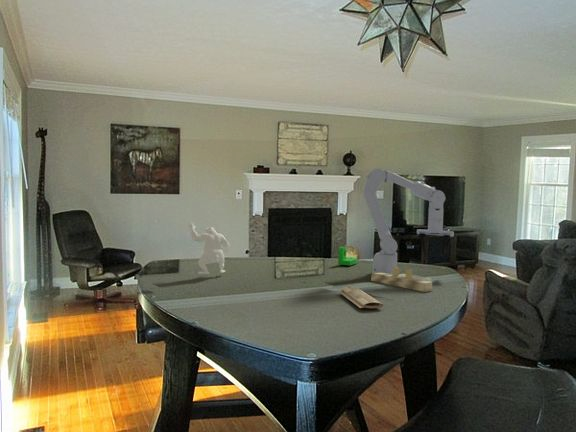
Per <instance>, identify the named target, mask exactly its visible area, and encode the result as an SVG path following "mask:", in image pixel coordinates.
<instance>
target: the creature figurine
mask: <svg viewBox="0 0 576 432" xmlns="http://www.w3.org/2000/svg"><path fill="white" fill-rule="evenodd" d="M188 226H189V229H190V236H191V238H192V240H193V241H194V242H195V241H196V242H199V243H200V242H205V243H204V246H203V253H202V255H201V256H200V258H199V259H198V262H197V264H198V266H199V268H200V269H202V271H198V272H197V274H198V275H210V272H209V270H208V267H207V265H210V264H215V263H216V264H218V267H219V273H220V274H222V273H223V274H224V273H226V270H225V269H224V268H225V254H224V253H228V251H229V249H230V243H229V242H228V240H227V239H226V238H225V236H224V234H222V233H220V232H219V233H218V232H217V231H216V229H215V227H212V226H209V227H206V228H205V231H204V233H200V234H198V232H197V231H196V230H195V229H196V225H195V223H194V222H192V221H191V222H189V223H188ZM222 246H223V247H222Z"/></svg>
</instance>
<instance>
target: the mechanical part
mask: <svg viewBox="0 0 576 432" xmlns="http://www.w3.org/2000/svg"><path fill="white" fill-rule="evenodd" d="M337 254H338V255H337V256H338V257H337V259H338V260H337V264H338V265H342V266H343V265H344V266H352V265H355V264H357V263H358V258H357V257H351V256H349V257H348V256H347V255H348V254H347V247H346V246H339V248H338V253H337Z"/></svg>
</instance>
